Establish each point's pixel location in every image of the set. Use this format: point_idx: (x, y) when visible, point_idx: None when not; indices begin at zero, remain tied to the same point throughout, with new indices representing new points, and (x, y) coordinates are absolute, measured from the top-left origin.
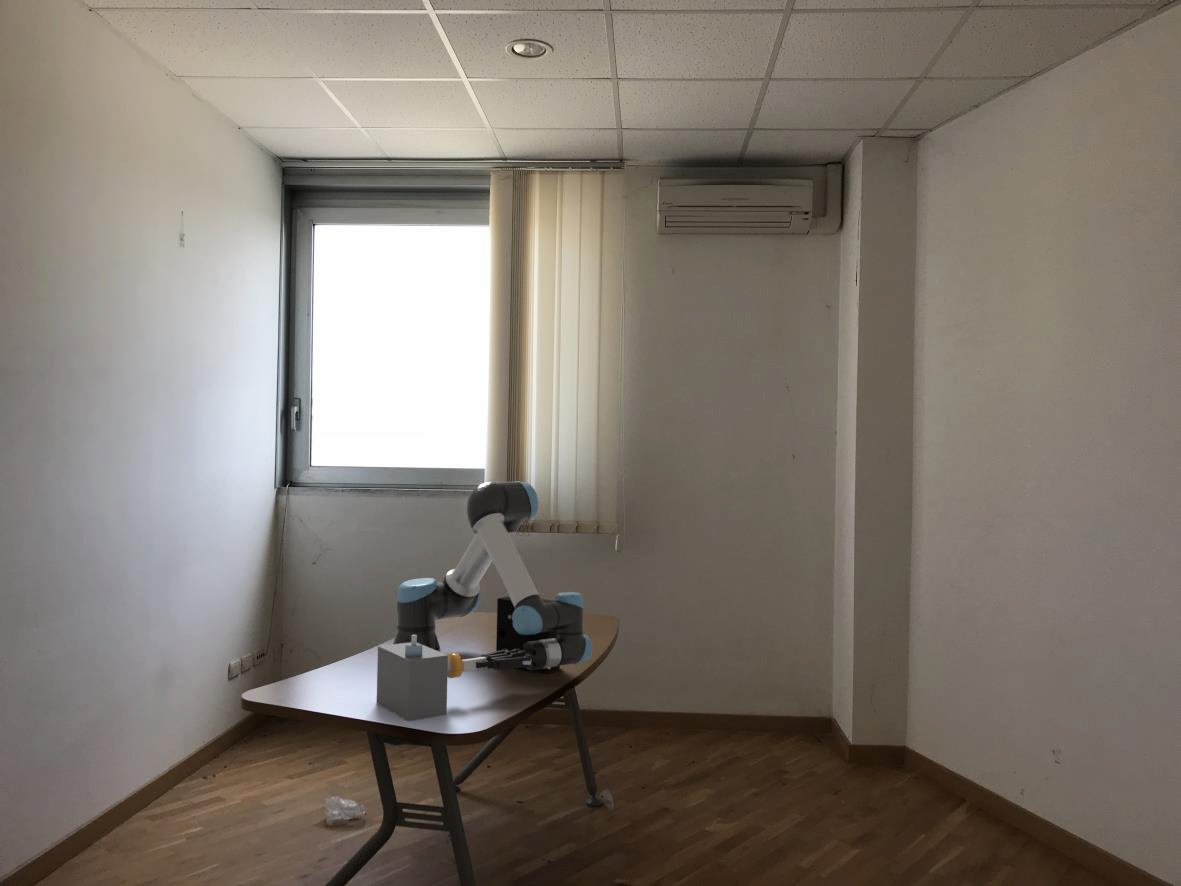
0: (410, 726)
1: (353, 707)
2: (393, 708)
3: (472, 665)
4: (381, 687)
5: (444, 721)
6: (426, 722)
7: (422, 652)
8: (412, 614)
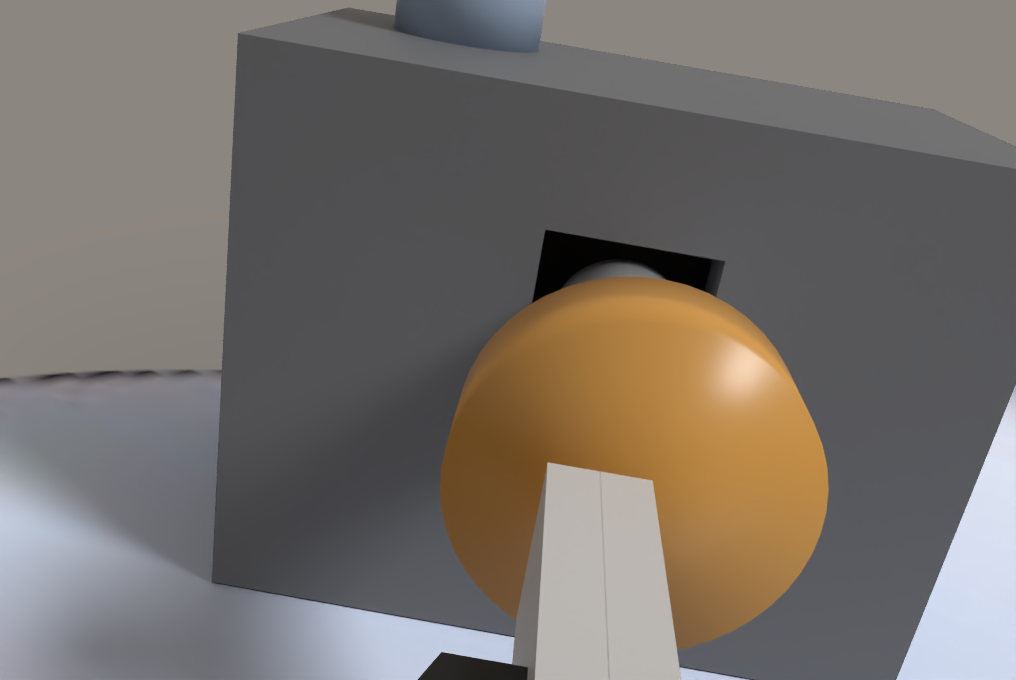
0: (215, 381)
1: None
2: None
3: (520, 658)
4: None
5: (89, 492)
6: (191, 440)
7: (525, 61)
8: None
